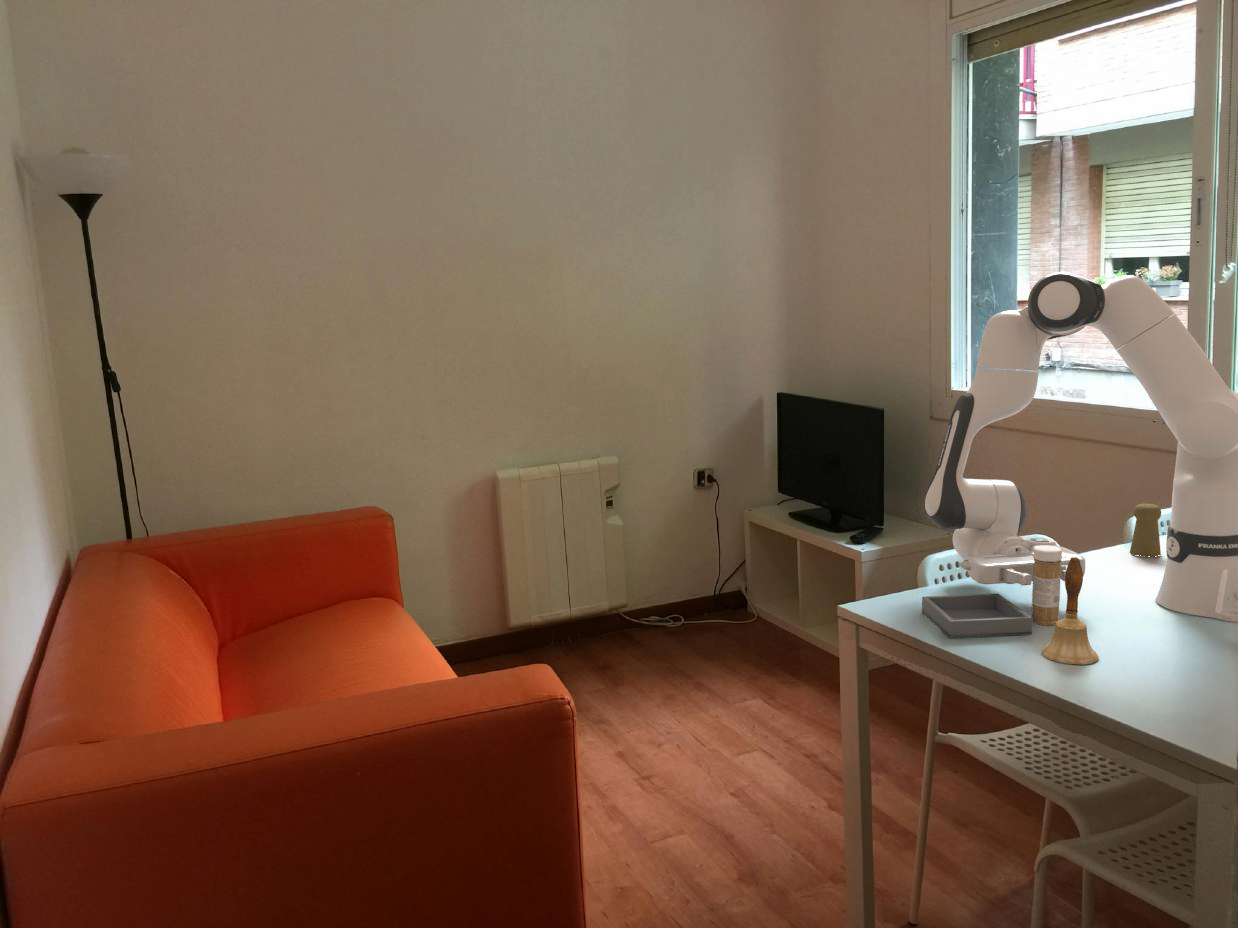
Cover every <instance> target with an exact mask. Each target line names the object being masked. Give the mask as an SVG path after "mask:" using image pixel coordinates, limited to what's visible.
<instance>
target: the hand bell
mask: <svg viewBox="0 0 1238 928" xmlns="http://www.w3.org/2000/svg"><path fill="white" fill-rule="evenodd" d="M1083 581H1084V576H1083V571H1082V568H1081V564H1080V560H1079V558H1076V557H1072V558H1071V559H1070V562H1069V564H1068V566H1067V569H1066V572H1065V581H1064V586H1065V591H1066V596H1067V597H1066V609H1065V617H1064V618H1062V619H1059V620H1058V621H1057V622H1056V625H1054V632H1053V635H1052V637H1051V639H1050V641H1049V642H1048V644H1046V645H1045V646H1044V647H1043V648H1042V649H1041V654H1042V656H1044V657H1045V658H1046V659H1048V660H1051V661H1053V662H1057V663H1061V664H1067V665H1078V666H1079V665H1090V664H1091V665H1092V664H1094V663H1096V662H1098V661H1099V659H1100V656H1099V654H1098V653H1097V651H1095V650H1094V648H1093V647H1092V646H1091V644H1090V640H1089V635H1088V629H1087V627H1088V626H1087V624H1086V623H1085V622H1084V621H1081V620H1079V618H1078V613H1079V612H1078V611H1079V610H1078V608H1079V607H1078V605H1079V601H1078V599H1079V595H1080V593H1081V589H1082V587H1083Z"/></svg>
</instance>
